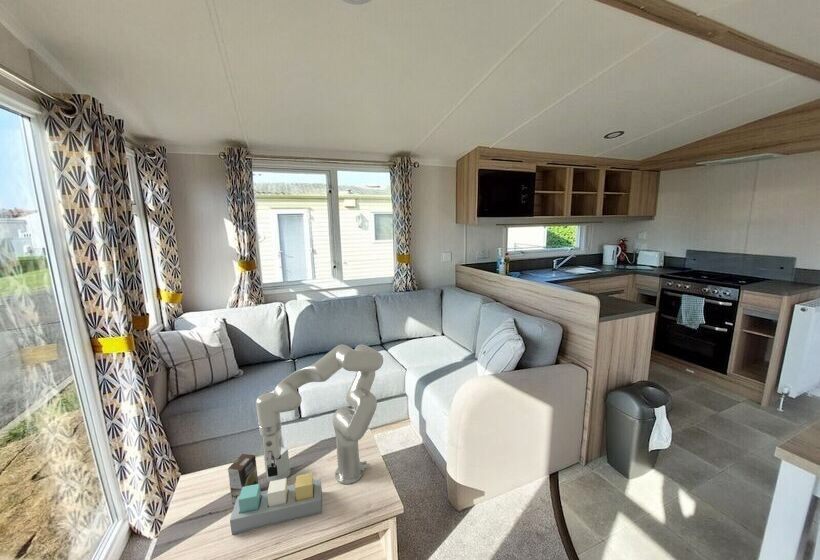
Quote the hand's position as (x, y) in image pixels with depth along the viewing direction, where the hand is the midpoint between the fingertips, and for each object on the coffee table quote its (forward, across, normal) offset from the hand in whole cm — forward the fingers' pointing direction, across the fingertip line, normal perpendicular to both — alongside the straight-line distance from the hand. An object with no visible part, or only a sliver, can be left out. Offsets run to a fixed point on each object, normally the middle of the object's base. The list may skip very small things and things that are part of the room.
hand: (274, 466), depth 125 cm
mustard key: (+15, 0, -10) cm, 18 cm away
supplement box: (+20, +19, +3) cm, 28 cm away
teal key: (+15, 0, +10) cm, 18 cm away
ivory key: (+15, 0, 0) cm, 15 cm away
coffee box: (+20, +12, +15) cm, 28 cm away
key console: (+20, 0, 0) cm, 20 cm away
